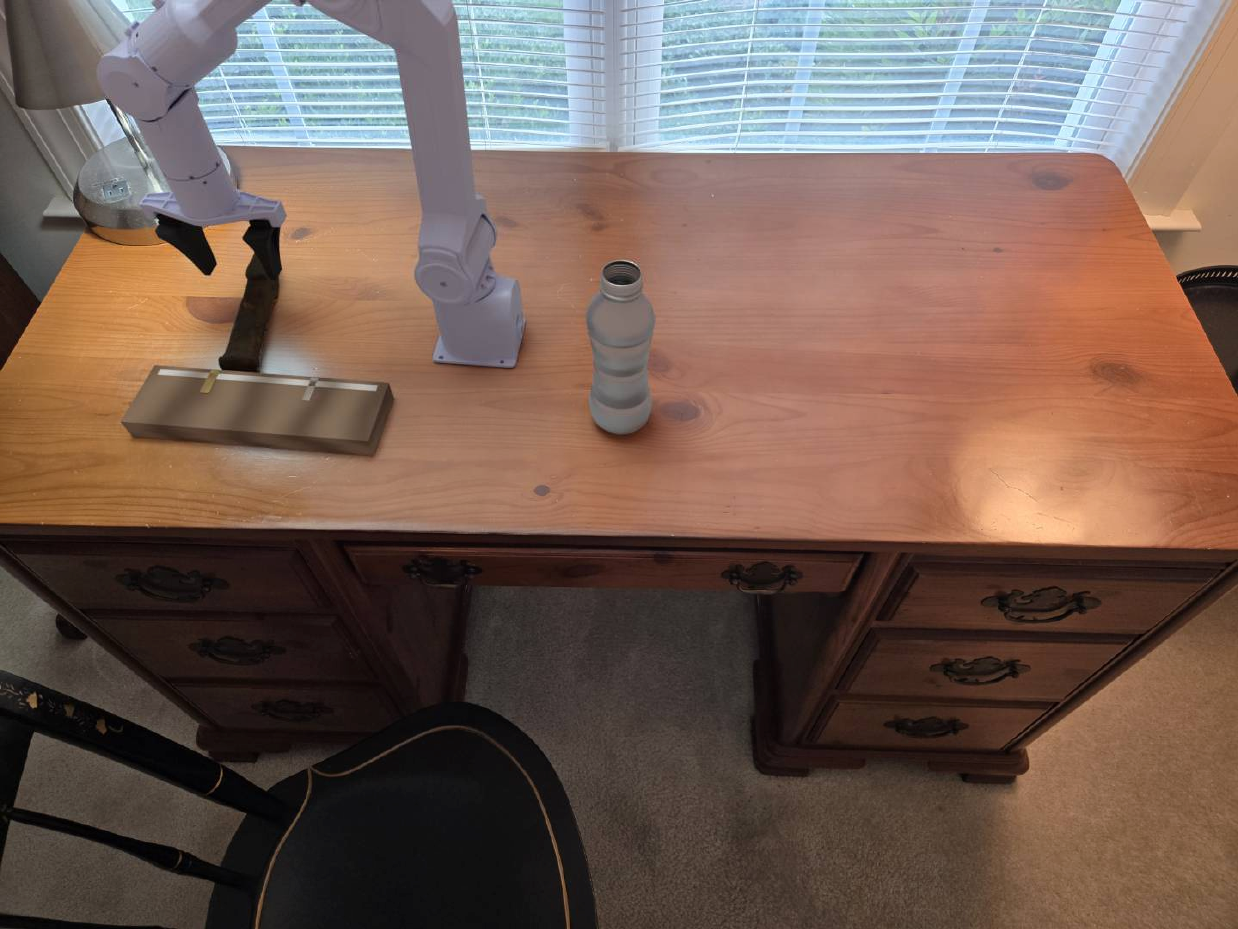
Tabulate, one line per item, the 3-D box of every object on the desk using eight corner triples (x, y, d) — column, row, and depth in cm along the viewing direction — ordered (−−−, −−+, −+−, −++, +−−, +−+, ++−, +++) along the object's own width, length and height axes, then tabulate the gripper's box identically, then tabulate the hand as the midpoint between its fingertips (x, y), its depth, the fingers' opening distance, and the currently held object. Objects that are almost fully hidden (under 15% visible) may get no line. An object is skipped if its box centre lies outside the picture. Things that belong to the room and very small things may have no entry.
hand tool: (262, 382, 89) (247, 352, 85) (226, 382, 88) (209, 353, 85) (298, 270, 100) (287, 240, 96) (266, 271, 100) (253, 240, 96)
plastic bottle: (631, 452, 83) (635, 308, 67) (577, 425, 85) (569, 279, 69) (662, 412, 86) (673, 266, 70) (609, 387, 88) (608, 239, 72)
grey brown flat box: (393, 397, 87) (388, 381, 85) (373, 455, 82) (367, 440, 80) (165, 380, 88) (154, 364, 86) (132, 436, 84) (119, 421, 81)
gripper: (276, 145, 81) (317, 252, 91) (139, 137, 81) (195, 245, 92) (251, 186, 76) (297, 294, 87) (106, 177, 77) (170, 285, 88)
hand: (243, 271), depth 90 cm, fingers open, 7 cm apart
